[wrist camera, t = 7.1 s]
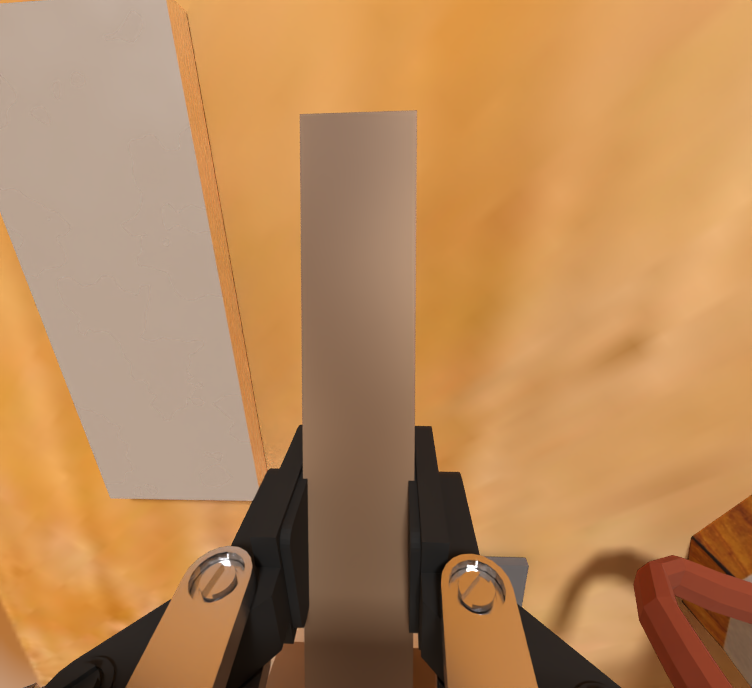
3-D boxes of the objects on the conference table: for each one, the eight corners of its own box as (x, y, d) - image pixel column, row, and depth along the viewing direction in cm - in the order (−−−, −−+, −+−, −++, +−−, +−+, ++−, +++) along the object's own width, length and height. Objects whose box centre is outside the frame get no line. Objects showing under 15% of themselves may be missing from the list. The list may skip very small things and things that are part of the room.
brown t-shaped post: (468, 181, 12) (504, 107, 8) (461, 677, 13) (491, 840, 9) (276, 185, 12) (216, 116, 8) (281, 667, 13) (230, 818, 9)
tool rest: (186, 10, 12) (164, -9, 11) (269, 483, 19) (261, 501, 18) (-36, 26, 13) (-78, 9, 11) (126, 481, 20) (110, 498, 19)
